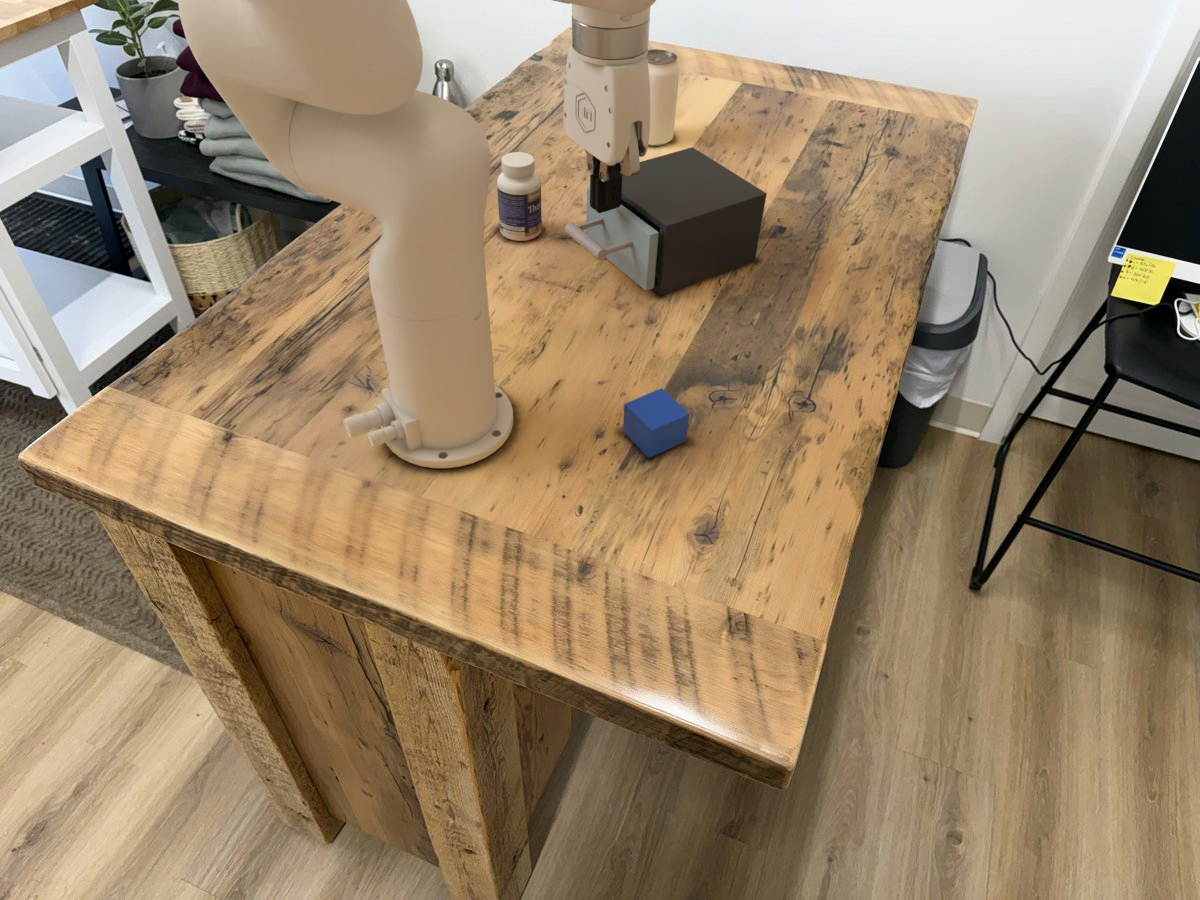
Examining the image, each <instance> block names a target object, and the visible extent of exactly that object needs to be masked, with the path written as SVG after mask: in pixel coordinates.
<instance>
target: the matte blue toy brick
mask: <svg viewBox="0 0 1200 900" xmlns="http://www.w3.org/2000/svg"><path fill="white" fill-rule="evenodd" d="M623 406H624V407H623V421H622V422H623V423H622V432H623V434H624V435H626V436H627V438H628V439H629V440H631V442H632V443H634V445H635V446H636V447H637V448H638V449H639V450H640V451H641V452H642V454H644V455H645V456H646V457H647V458H648V459H651V458H653V457H655V456H658V455H660V454H661V453H664V452H666V451H668V450H670V449H672V448H674V447H677V446H679V445H681V444H684V443H686V441H687V435H688V428H689V420H690V413H689V412H688V411H687V410H686V409H685V408H684V407H683V406H682V405H681V404H679V402H678V401H676V400H675V399H674V398H673V397H672V396H671V395H670V394H669V393H668V392H667V391H665V389H664V388H659V389H656V390H654V391H651V392H649V393H647V394H645V395H642V396H640V397H637V398H635V399H632V400H630V401H628V402H625V403H624V405H623Z"/></svg>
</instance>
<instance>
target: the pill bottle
mask: <svg viewBox="0 0 1200 900" xmlns="http://www.w3.org/2000/svg"><path fill="white" fill-rule="evenodd" d="M500 163H501V166H500V167H501V173H500V174H499V175H498V176H497V180H496V191H497V203H498V204H497V208H498V220H499V221H498V223H499V231H500V234H501V235H502V236H503V237H504V238H505V239H508V240H512V241H517V242H518V241H519V242H523V241H530V240H534V239H535V238H537V237H538V236H540V234H541V233H542V222H543V221H542V219H543V218H542V181H541V177H540V175H538V173H537V172H536V171H535V169H536V167H535V166H536V165H535V163H536V162H535V158H534V156H533V155H532V154H531V153H527V152H523V151H513V152H508V153H507V154H504V155H502V157H501V160H500Z"/></svg>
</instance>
